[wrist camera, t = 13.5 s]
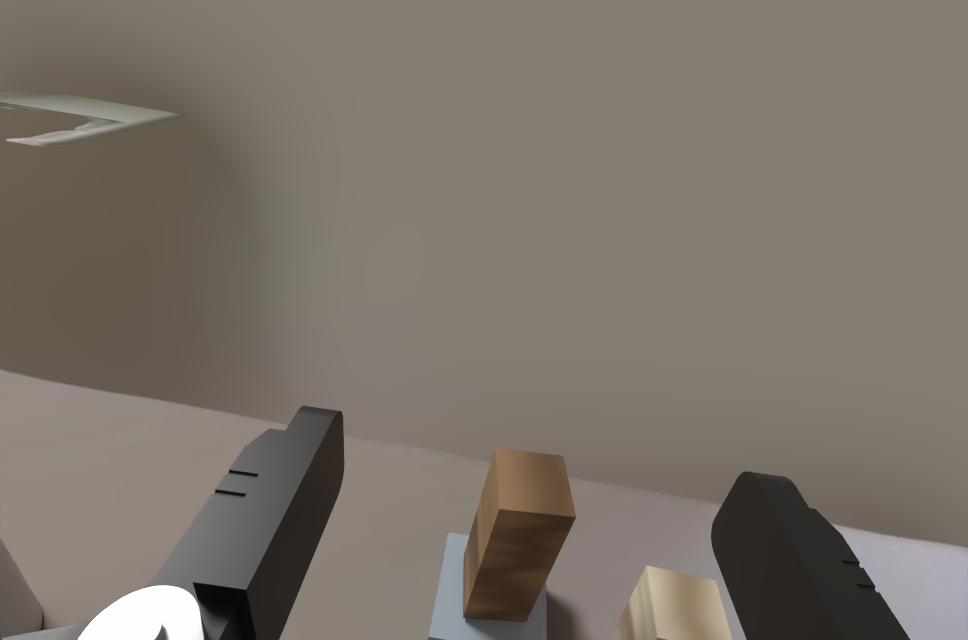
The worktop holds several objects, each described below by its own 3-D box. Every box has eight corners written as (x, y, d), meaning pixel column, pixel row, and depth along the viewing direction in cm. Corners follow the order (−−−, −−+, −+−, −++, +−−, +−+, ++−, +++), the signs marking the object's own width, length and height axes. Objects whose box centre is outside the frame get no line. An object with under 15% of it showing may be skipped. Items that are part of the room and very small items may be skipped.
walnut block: (462, 617, 33) (499, 508, 27) (463, 555, 37) (495, 447, 31) (525, 622, 34) (575, 516, 27) (520, 560, 37) (563, 456, 31)
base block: (423, 673, 35) (428, 636, 32) (443, 569, 42) (448, 532, 39) (533, 693, 34) (547, 658, 32) (534, 585, 41) (545, 549, 39)
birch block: (623, 695, 35) (657, 637, 31) (617, 624, 39) (646, 565, 35) (693, 712, 34) (736, 655, 30) (679, 639, 39) (716, 581, 35)
